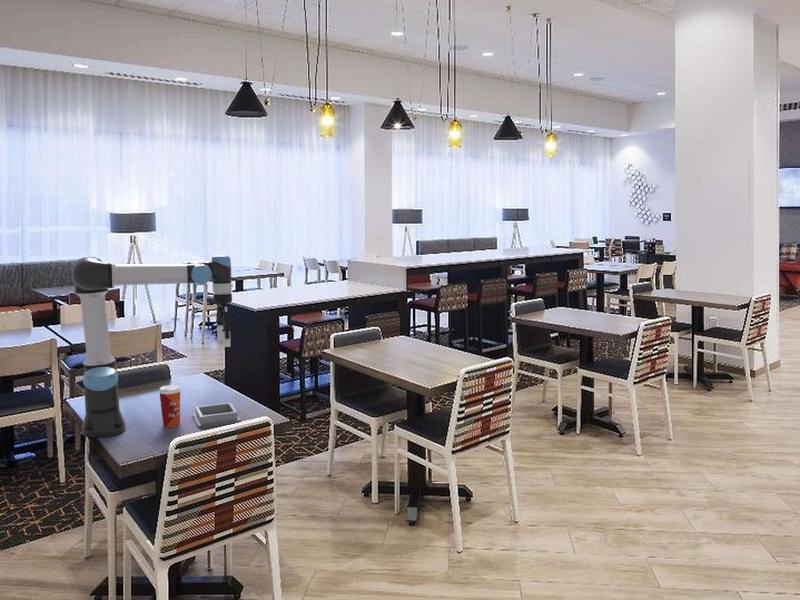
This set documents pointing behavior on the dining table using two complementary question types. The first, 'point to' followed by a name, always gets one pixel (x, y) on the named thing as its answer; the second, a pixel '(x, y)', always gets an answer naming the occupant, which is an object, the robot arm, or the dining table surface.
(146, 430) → the dining table surface
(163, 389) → the coffee cup
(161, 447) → the dining table surface
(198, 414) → the tray
